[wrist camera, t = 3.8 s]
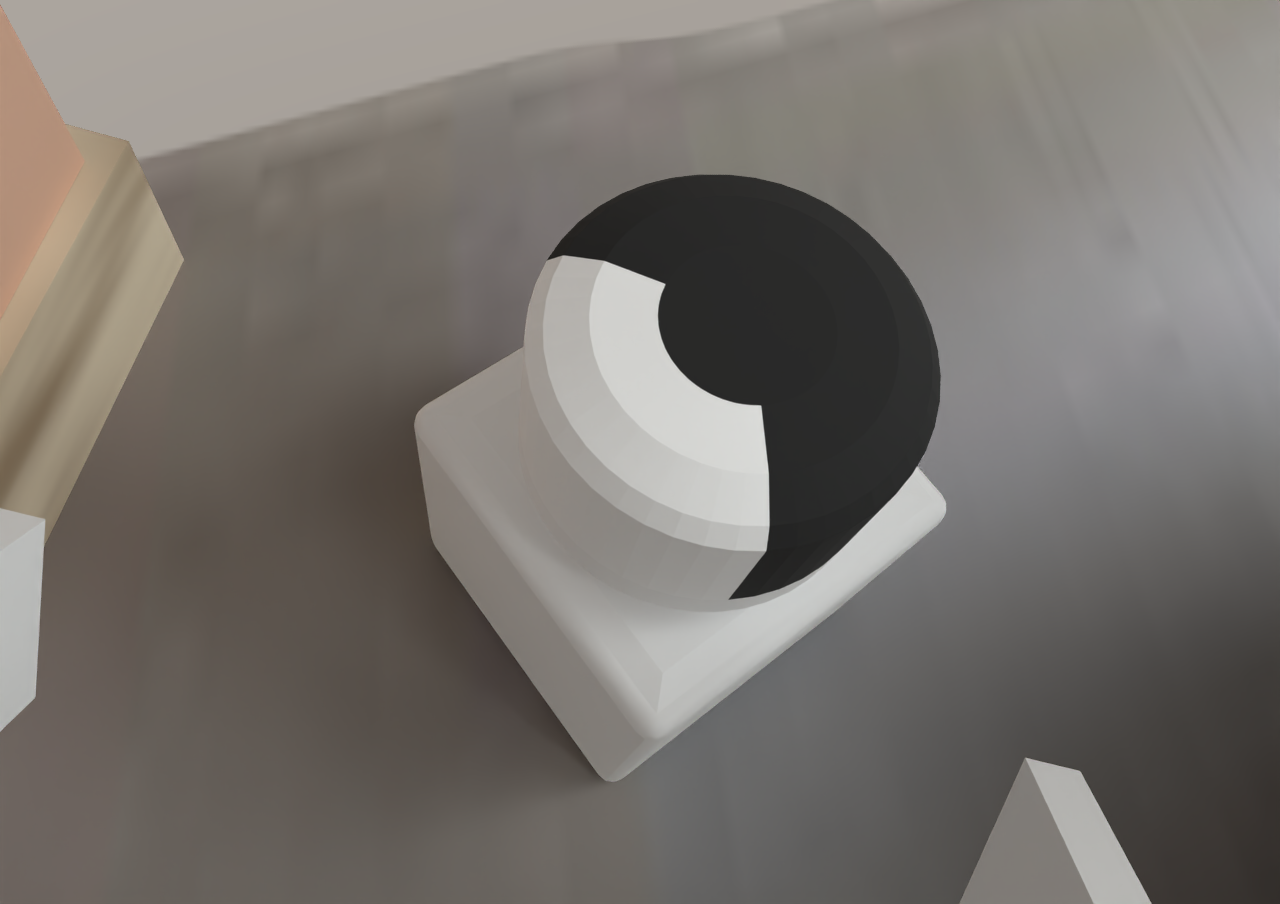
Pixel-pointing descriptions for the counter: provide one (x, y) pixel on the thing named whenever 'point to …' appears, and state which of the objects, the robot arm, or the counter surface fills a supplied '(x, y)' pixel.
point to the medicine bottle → (686, 452)
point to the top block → (28, 161)
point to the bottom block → (79, 324)
